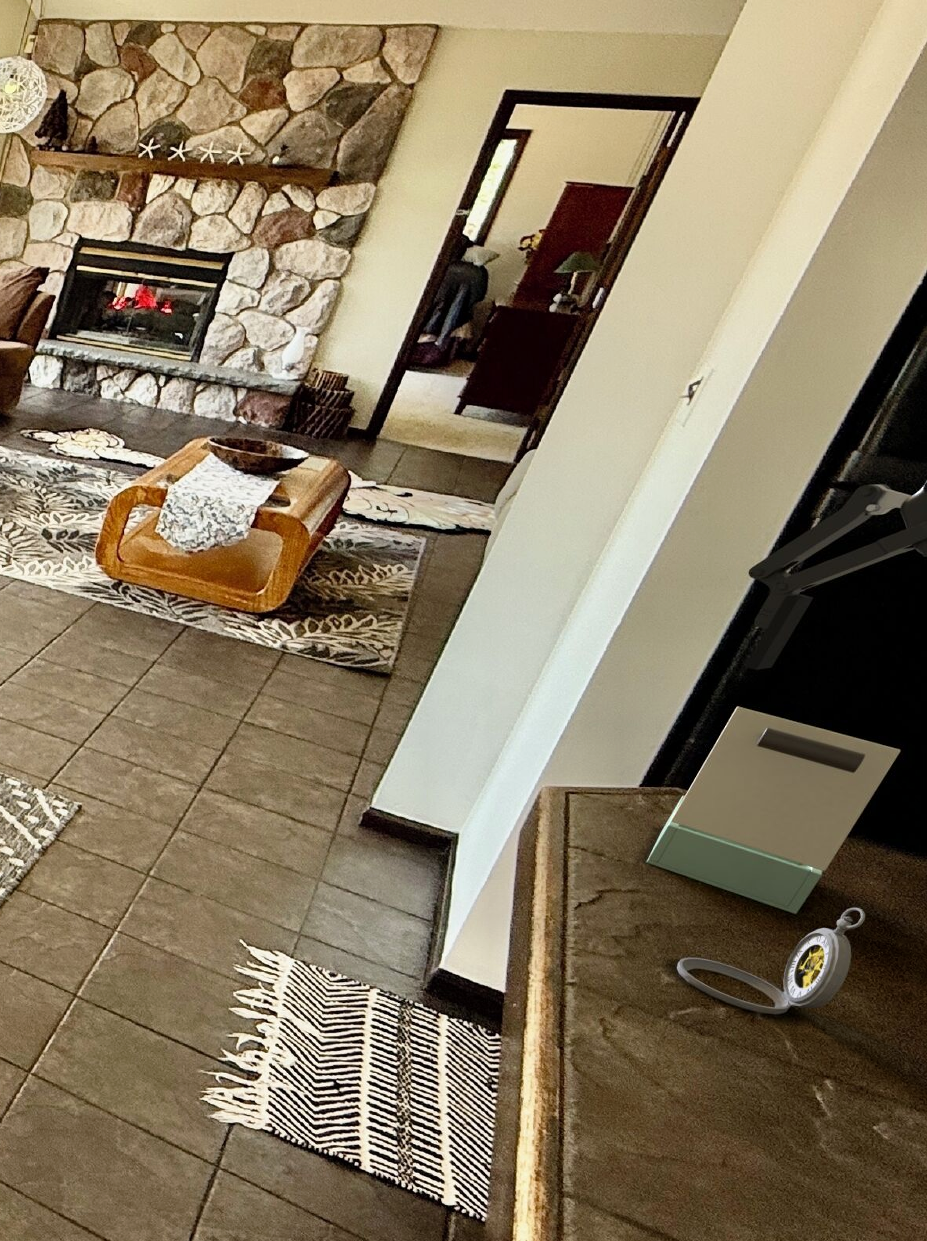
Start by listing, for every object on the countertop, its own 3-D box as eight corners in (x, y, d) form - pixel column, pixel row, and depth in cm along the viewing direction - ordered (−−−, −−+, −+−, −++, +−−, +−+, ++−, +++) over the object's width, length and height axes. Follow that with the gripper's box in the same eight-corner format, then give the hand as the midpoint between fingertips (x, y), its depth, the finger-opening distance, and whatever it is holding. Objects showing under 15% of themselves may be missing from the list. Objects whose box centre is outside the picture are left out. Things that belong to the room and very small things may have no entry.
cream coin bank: (737, 706, 112) (739, 707, 106) (900, 749, 105) (912, 753, 98) (670, 820, 115) (669, 828, 109) (824, 870, 108) (831, 881, 102)
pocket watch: (651, 964, 100) (712, 865, 96) (748, 972, 100) (813, 874, 96) (747, 1028, 93) (817, 924, 89) (852, 1037, 93) (927, 933, 89)
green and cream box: (660, 833, 124) (682, 795, 122) (801, 880, 116) (828, 840, 114) (644, 865, 117) (668, 825, 115) (794, 917, 110) (821, 875, 108)
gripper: (783, 408, 96) (653, 645, 105) (1302, 490, 75) (1086, 776, 84) (827, 409, 99) (696, 639, 108) (1338, 487, 78) (1126, 765, 87)
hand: (867, 700), depth 96 cm, fingers open, 13 cm apart
